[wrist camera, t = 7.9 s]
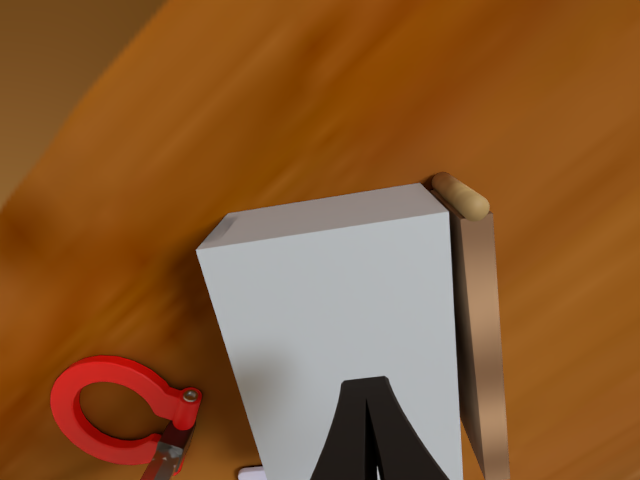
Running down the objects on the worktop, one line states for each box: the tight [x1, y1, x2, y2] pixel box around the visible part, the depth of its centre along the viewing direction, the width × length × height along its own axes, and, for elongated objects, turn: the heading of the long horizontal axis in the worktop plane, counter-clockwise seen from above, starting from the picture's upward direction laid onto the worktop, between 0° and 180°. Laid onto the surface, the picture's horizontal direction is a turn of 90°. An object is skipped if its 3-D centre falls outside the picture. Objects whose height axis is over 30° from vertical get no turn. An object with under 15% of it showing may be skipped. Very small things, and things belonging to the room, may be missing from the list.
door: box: [430, 172, 510, 480], centre depth 19 cm, size 15×2×5 cm, turn 13°
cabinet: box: [196, 183, 463, 480], centre depth 20 cm, size 15×10×5 cm, turn 10°
